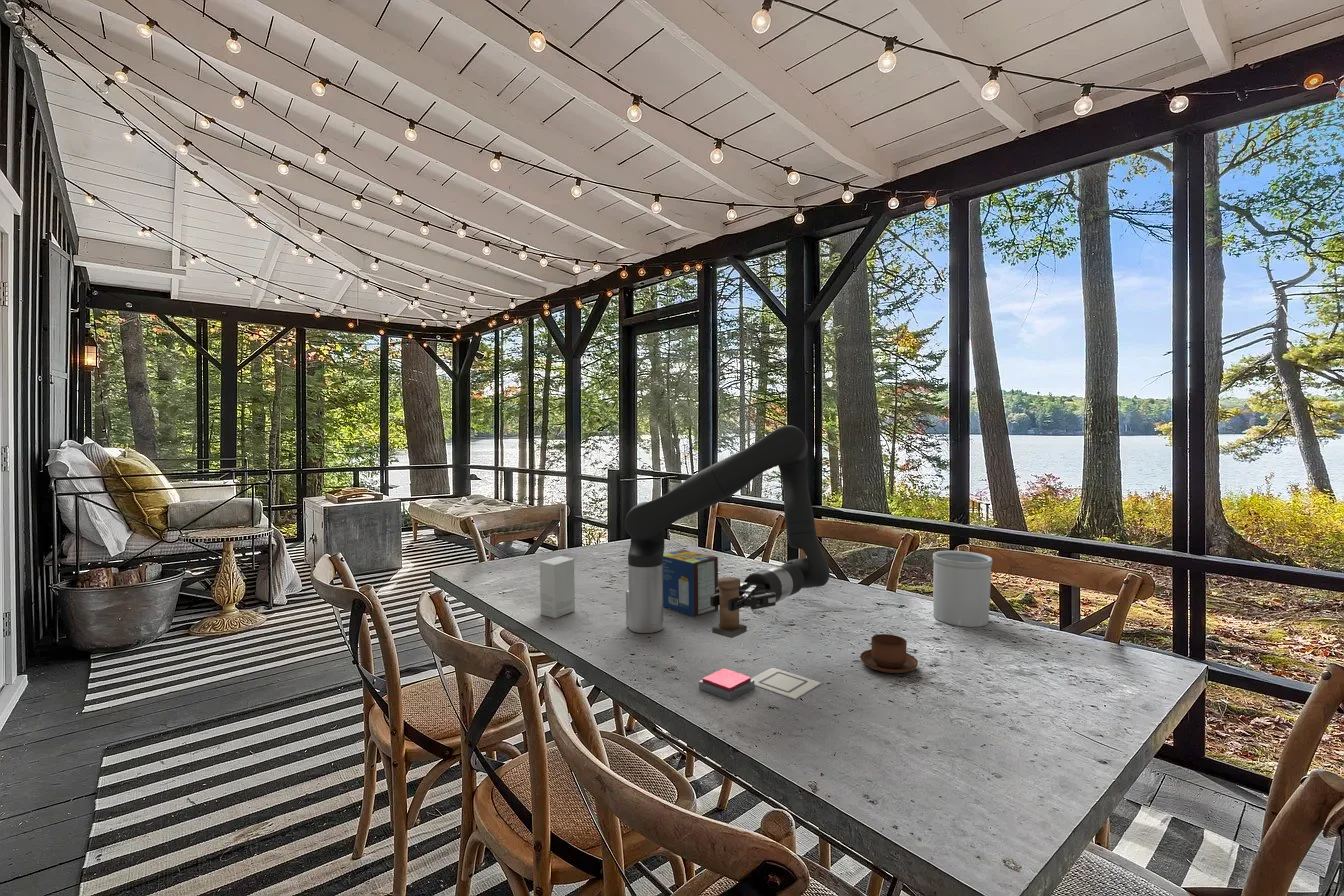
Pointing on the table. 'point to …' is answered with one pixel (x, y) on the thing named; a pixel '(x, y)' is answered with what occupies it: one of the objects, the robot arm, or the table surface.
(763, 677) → the sheet
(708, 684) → the ink pad
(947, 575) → the utensil holder
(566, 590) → the skincare box
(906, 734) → the table surface
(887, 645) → the cup and saucer
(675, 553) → the protein box
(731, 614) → the stamp
